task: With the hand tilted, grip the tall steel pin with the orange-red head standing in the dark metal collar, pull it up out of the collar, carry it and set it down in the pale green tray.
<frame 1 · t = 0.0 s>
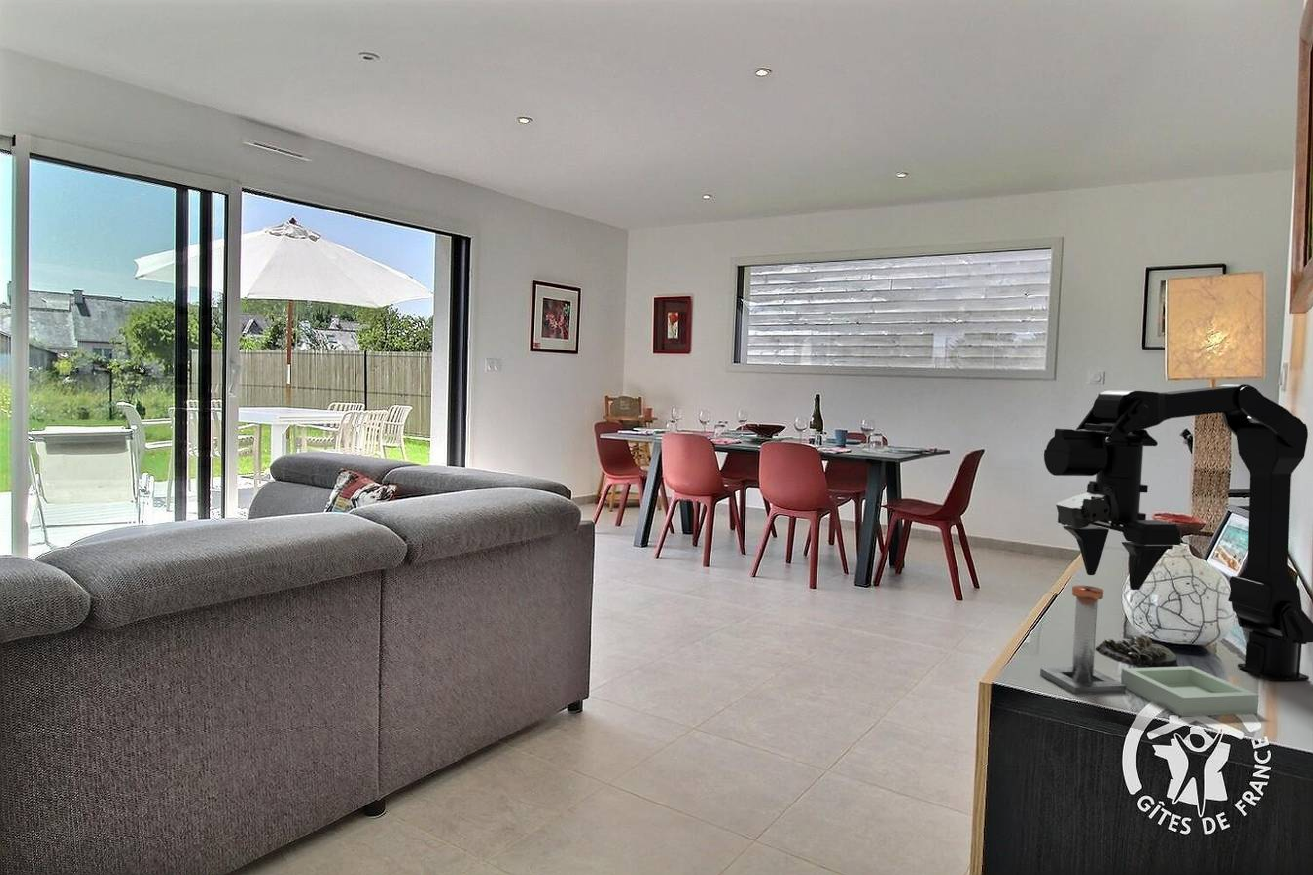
hand: (1112, 582, 123), 15 cm above the table, tool pointing down, fingers open, 9 cm apart
dark brown textured lump: (1137, 659, 135), on the table
tray: (1186, 698, 117), on the table
collar plate: (1081, 683, 122), on the table
pin: (1084, 636, 121), in the collar plate
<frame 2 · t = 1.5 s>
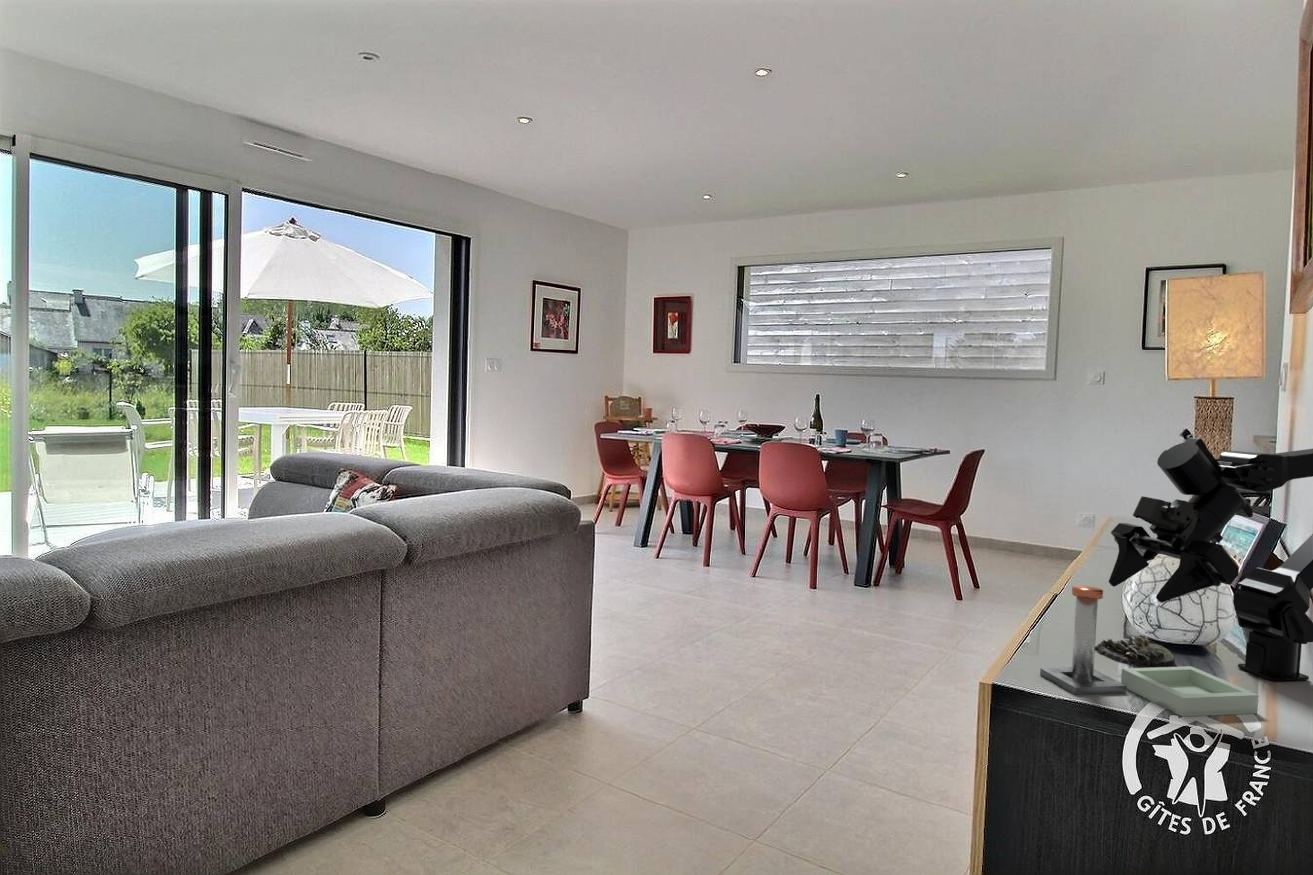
hand: (1133, 592, 122), 13 cm above the table, tool tilted 45°, fingers open, 9 cm apart
nothing on the table moved.
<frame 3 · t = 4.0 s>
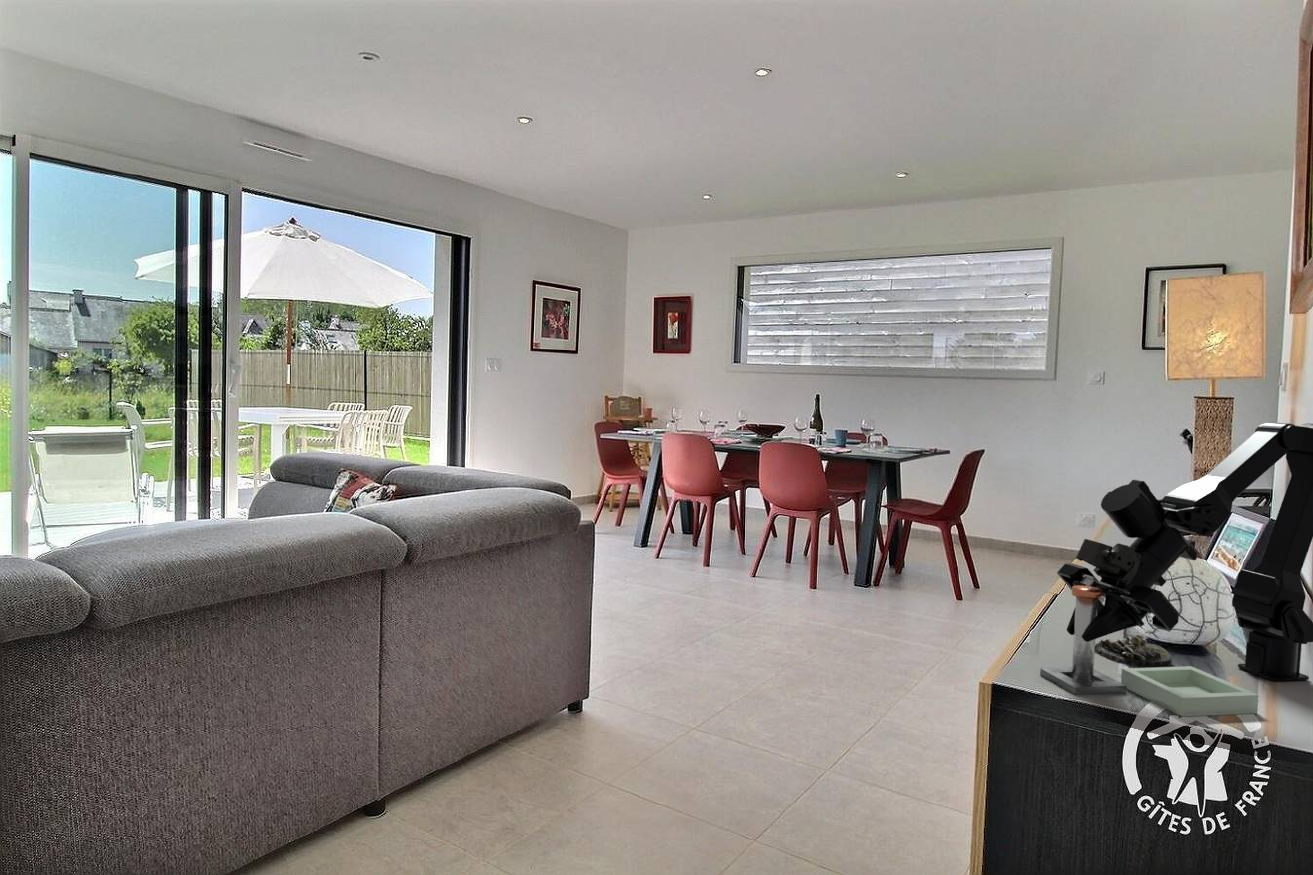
hand: (1076, 636, 121), 7 cm above the table, tool tilted 45°, fingers closed on pin, 3 cm apart
pin: (1084, 636, 121), in the collar plate, touching gripper
everything else where it was.
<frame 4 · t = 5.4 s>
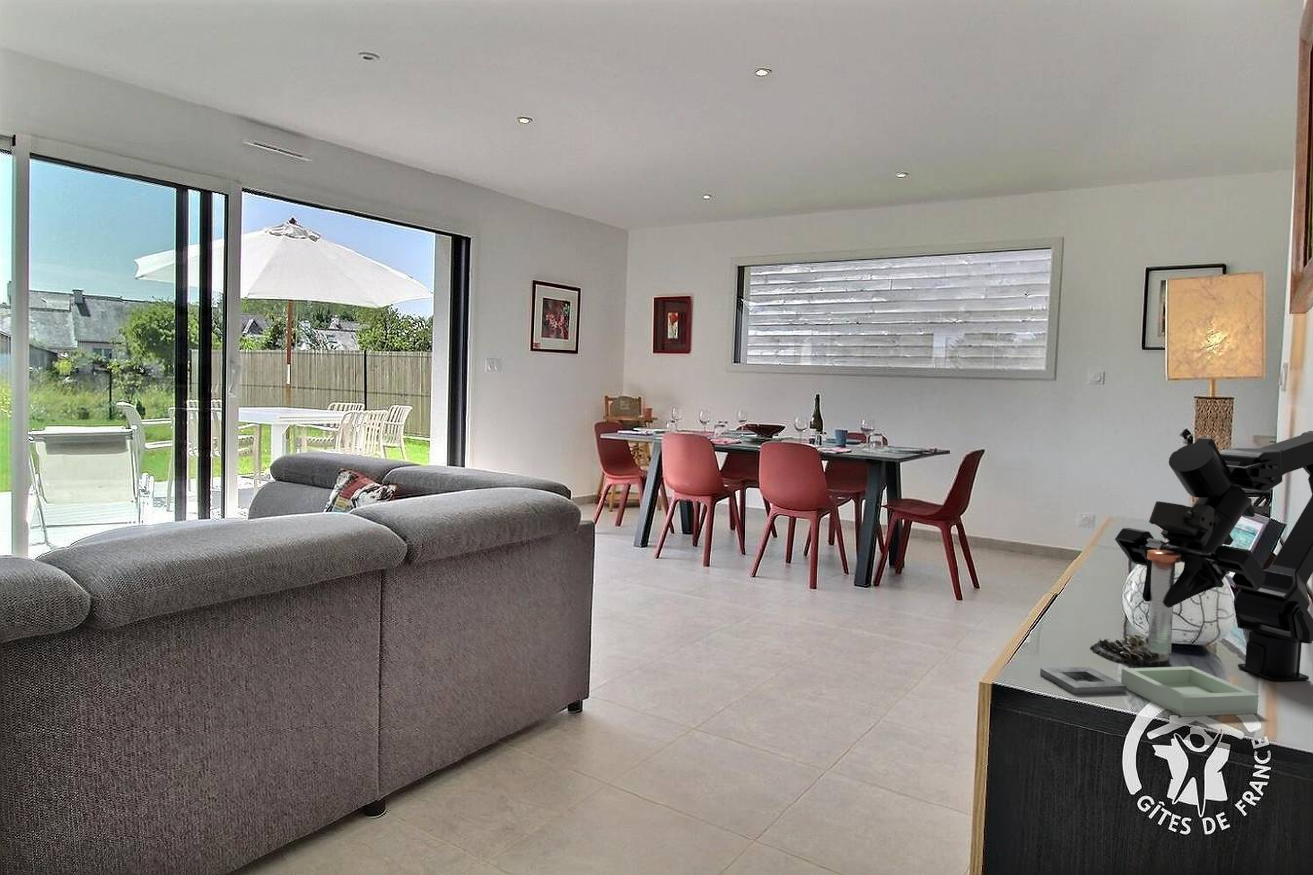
hand: (1155, 602, 116), 13 cm above the table, tool tilted 45°, fingers closed on pin, 3 cm apart
pin: (1161, 601, 117), point 13 cm above the table, touching gripper
everything else where it was.
when the fingers open (9 cm above the table, at t = 6.7 s): pin drops 1 cm, resting on tray.
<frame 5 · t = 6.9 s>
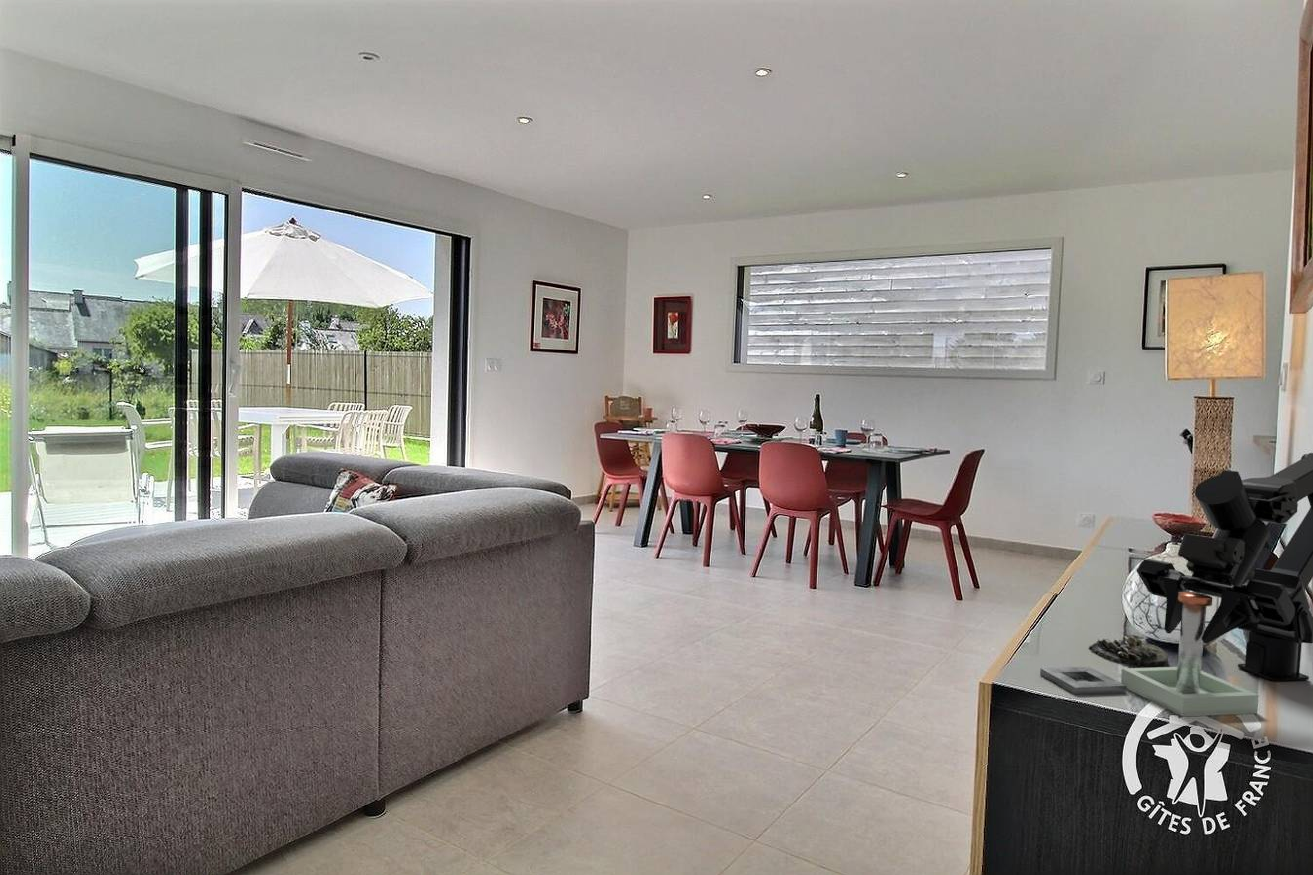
hand: (1185, 636, 115), 9 cm above the table, tool tilted 45°, fingers open, 5 cm apart
pin: (1191, 644, 116), in the tray, point 8 cm above the table
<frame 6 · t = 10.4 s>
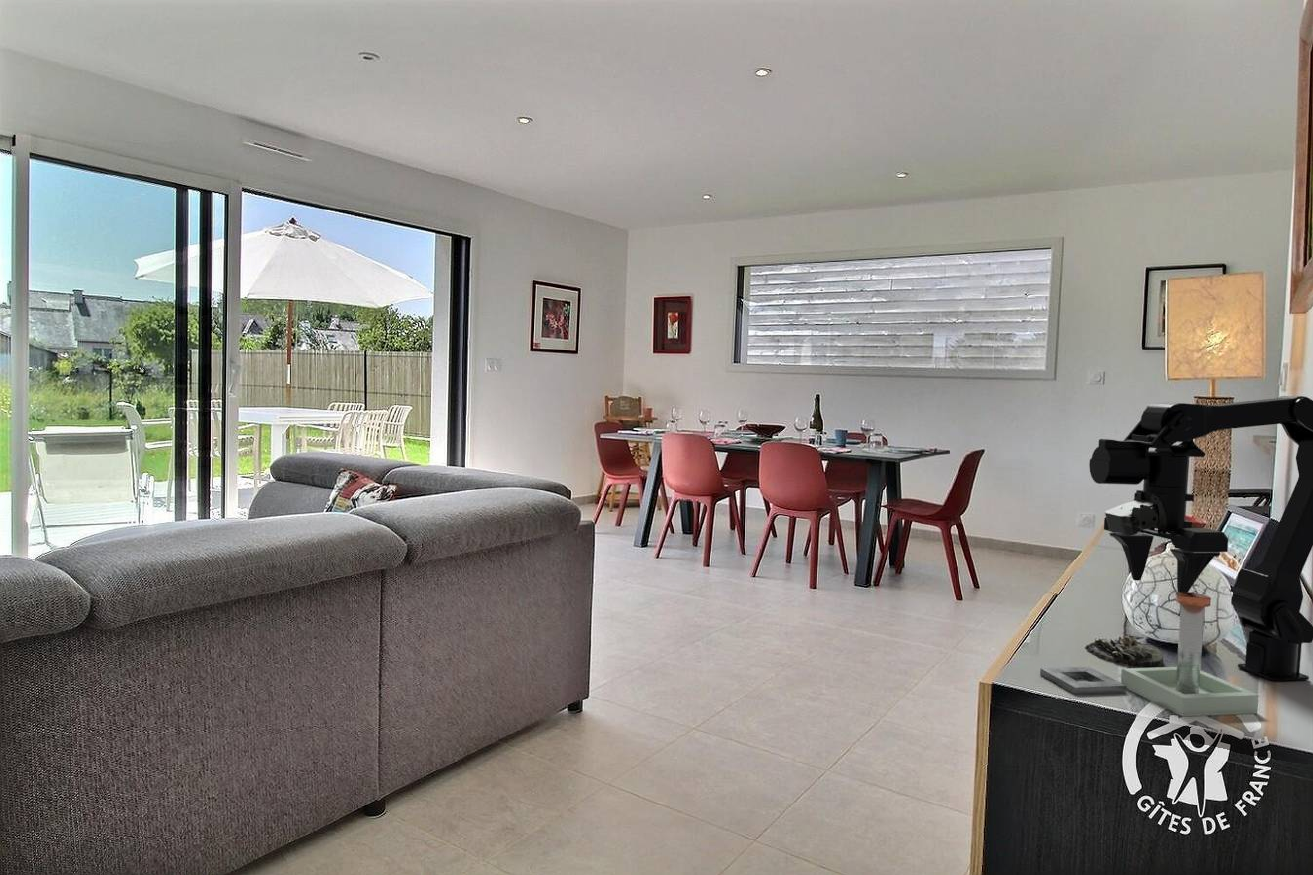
hand: (1158, 587, 127), 13 cm above the table, tool pointing down, fingers open, 9 cm apart
at the end: pin inside the target area on the tray (0.0 cm from its centre), point 7.6 cm above the tray's base; pin moved 13.1 cm from its start; the gripper is holding nothing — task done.
